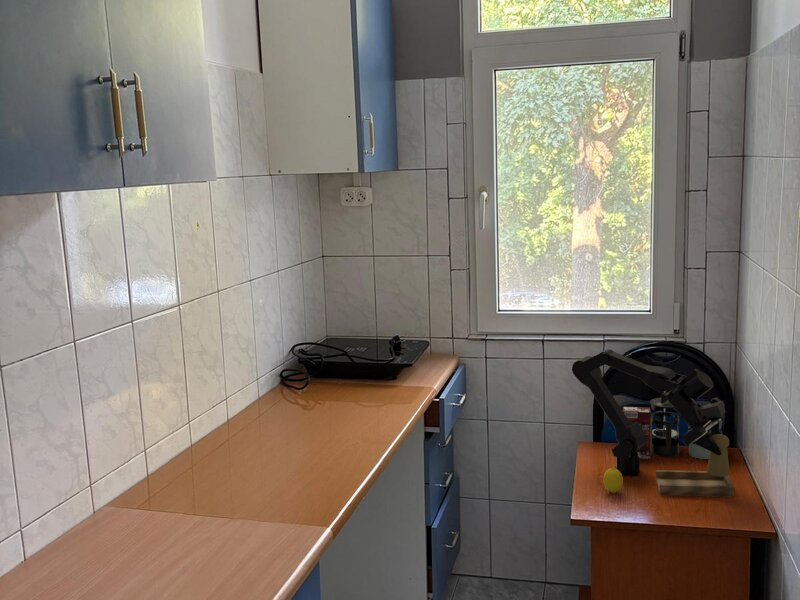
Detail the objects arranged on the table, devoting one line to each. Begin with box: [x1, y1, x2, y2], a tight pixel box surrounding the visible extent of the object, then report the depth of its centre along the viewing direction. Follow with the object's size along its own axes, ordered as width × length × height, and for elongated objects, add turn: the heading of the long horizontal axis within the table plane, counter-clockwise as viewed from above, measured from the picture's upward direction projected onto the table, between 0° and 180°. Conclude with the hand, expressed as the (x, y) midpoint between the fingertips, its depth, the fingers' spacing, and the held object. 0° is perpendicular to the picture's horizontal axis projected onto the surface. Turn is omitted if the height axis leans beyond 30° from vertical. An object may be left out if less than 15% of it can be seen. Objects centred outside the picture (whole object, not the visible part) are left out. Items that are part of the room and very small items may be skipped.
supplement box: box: [622, 406, 652, 460], centre depth 255 cm, size 9×5×16 cm, turn 77°
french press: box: [649, 397, 681, 458], centre depth 257 cm, size 12×9×23 cm
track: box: [655, 469, 735, 498], centre depth 232 cm, size 20×10×3 cm, turn 79°
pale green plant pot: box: [687, 418, 723, 460], centre depth 253 cm, size 10×10×12 cm
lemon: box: [602, 467, 624, 494], centre depth 231 cm, size 6×6×8 cm
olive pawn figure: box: [706, 433, 730, 477], centre depth 225 cm, size 6×6×11 cm
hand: (723, 451), depth 224 cm, fingers closed on olive pawn figure, 5 cm apart
